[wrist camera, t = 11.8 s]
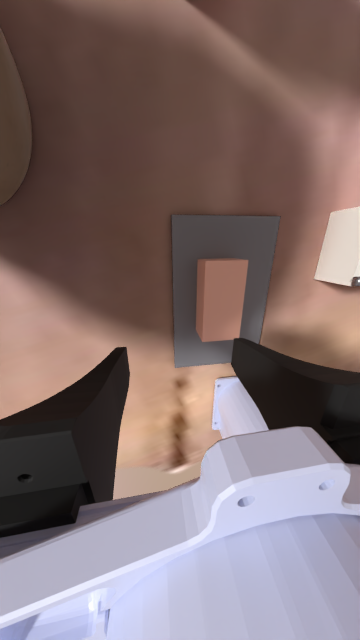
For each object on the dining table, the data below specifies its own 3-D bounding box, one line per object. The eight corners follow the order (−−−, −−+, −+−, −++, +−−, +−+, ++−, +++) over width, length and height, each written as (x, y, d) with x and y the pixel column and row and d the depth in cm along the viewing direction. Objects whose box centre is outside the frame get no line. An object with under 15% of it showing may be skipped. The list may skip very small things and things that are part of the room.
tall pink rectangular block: (228, 327, 22) (239, 339, 20) (195, 330, 22) (202, 342, 19) (234, 258, 19) (248, 260, 17) (197, 258, 19) (205, 261, 16)
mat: (254, 358, 25) (256, 359, 25) (174, 366, 24) (175, 367, 23) (278, 216, 19) (280, 216, 19) (171, 215, 18) (171, 214, 17)
